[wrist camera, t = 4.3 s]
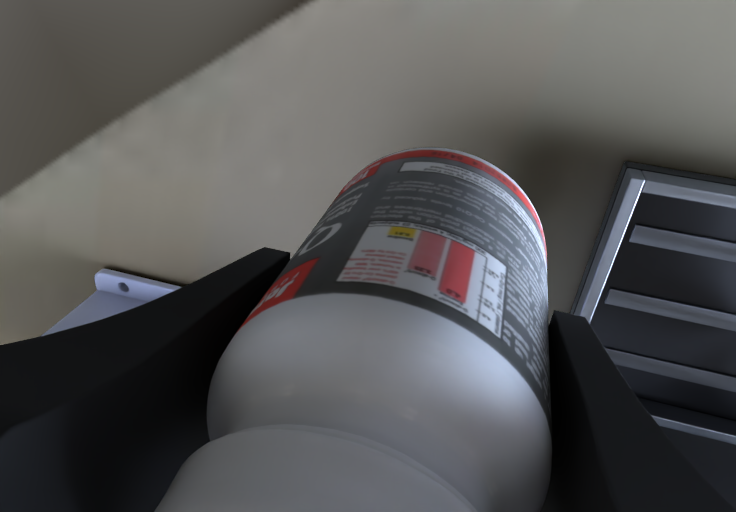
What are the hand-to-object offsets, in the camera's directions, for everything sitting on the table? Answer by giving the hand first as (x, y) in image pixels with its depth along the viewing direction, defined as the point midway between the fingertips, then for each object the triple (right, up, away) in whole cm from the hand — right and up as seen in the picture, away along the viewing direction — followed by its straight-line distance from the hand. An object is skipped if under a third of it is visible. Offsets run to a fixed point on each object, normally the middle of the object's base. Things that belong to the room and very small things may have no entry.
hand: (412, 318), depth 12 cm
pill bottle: (+1, +2, +3) cm, 4 cm away
